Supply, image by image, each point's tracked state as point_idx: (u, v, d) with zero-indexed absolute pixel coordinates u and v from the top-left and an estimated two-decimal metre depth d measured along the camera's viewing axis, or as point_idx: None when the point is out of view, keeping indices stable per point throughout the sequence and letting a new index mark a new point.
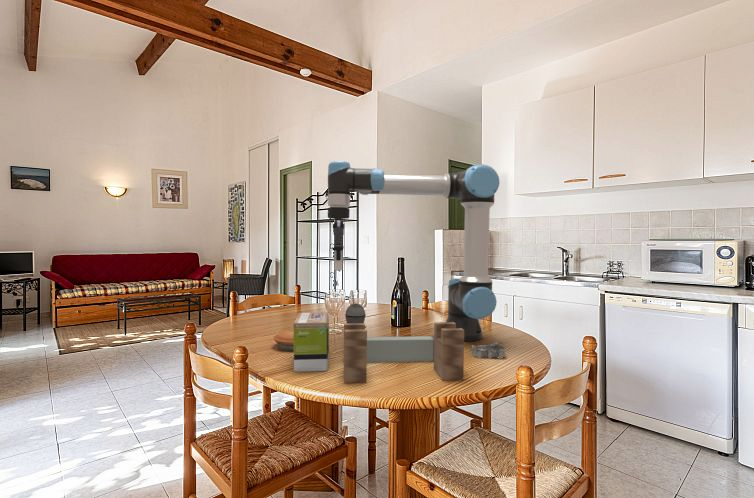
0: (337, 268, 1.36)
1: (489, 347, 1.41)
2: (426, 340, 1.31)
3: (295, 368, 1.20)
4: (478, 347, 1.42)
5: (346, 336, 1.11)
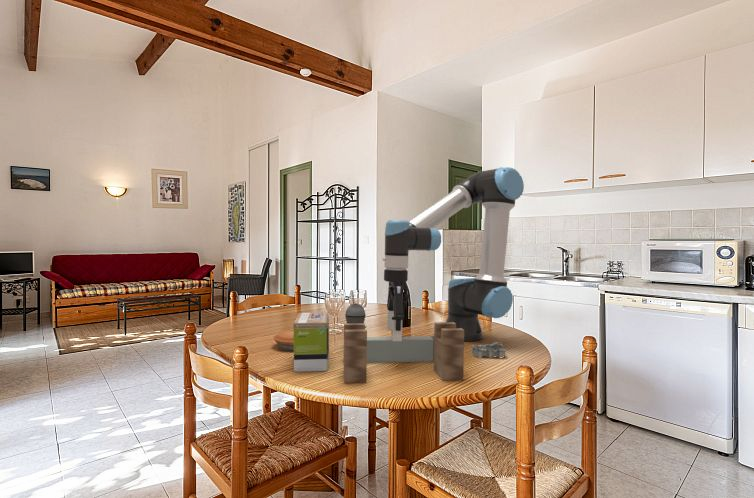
0: (396, 339, 1.24)
1: (489, 347, 1.41)
2: (426, 340, 1.31)
3: (295, 368, 1.20)
4: (478, 347, 1.42)
5: (346, 336, 1.11)
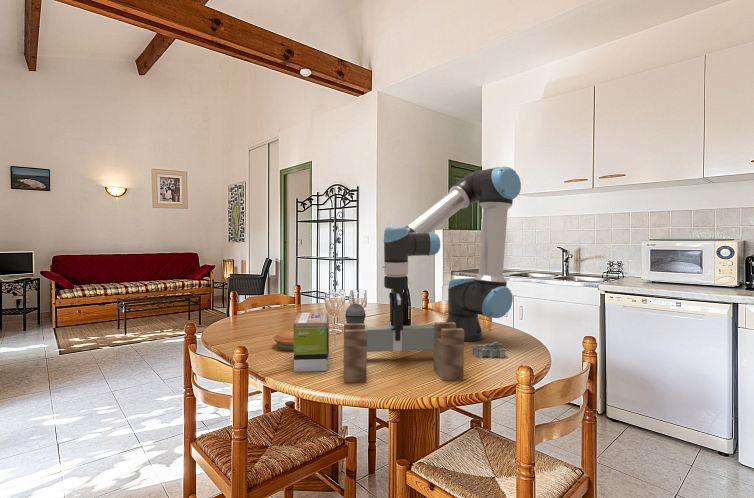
0: (396, 348, 1.29)
1: (488, 346, 1.42)
2: (427, 329, 1.31)
3: (295, 368, 1.20)
4: (478, 347, 1.42)
5: (346, 336, 1.11)
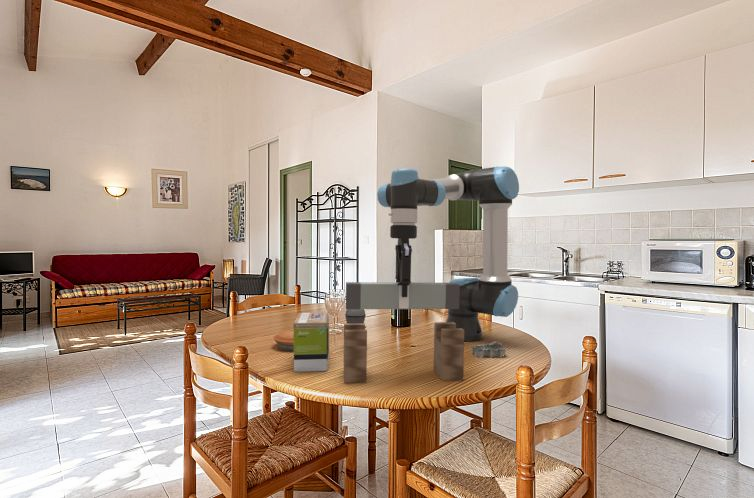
0: (402, 306, 1.15)
1: (488, 346, 1.42)
2: (438, 285, 1.16)
3: (295, 368, 1.20)
4: (477, 346, 1.42)
5: (346, 336, 1.11)
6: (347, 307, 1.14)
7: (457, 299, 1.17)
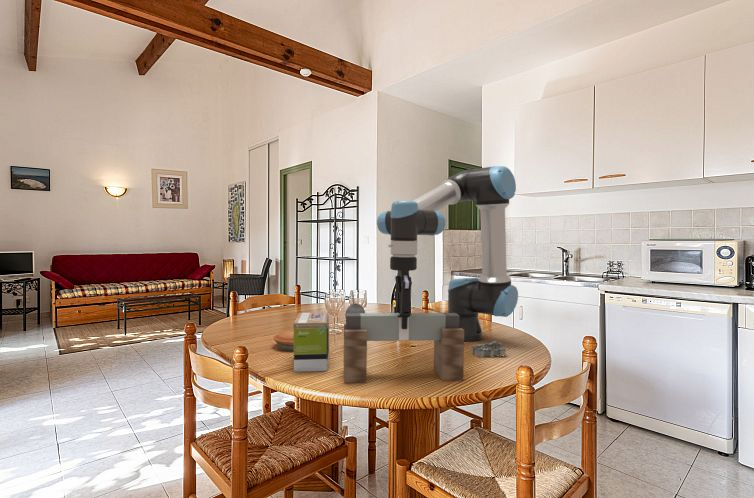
0: (402, 338, 1.15)
1: (488, 346, 1.42)
2: (437, 316, 1.16)
3: (295, 368, 1.20)
4: (477, 346, 1.42)
5: (346, 336, 1.11)
6: None
7: None
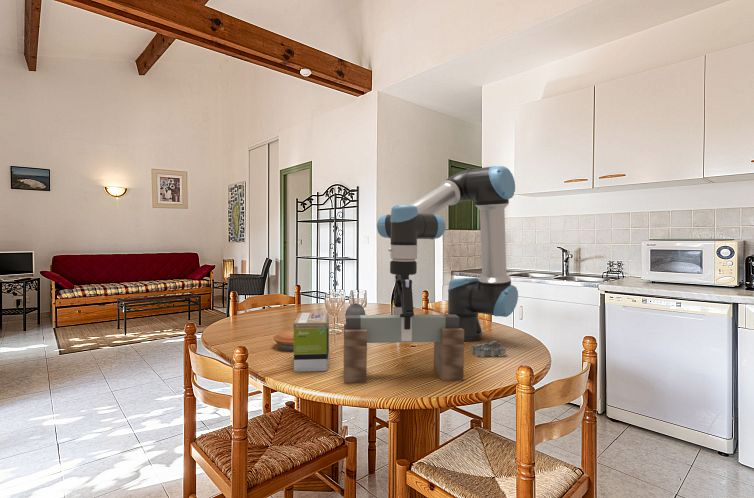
0: (405, 338, 1.10)
1: (487, 346, 1.43)
2: (437, 318, 1.16)
3: (295, 368, 1.20)
4: (477, 346, 1.42)
5: (346, 336, 1.11)
6: None
7: None
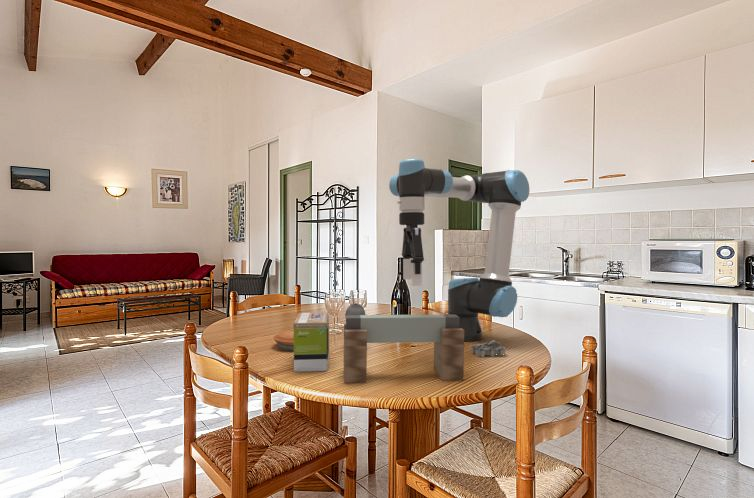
0: (416, 283, 1.18)
1: (487, 345, 1.43)
2: (437, 318, 1.16)
3: (295, 368, 1.20)
4: (476, 346, 1.43)
5: (346, 336, 1.11)
6: None
7: None
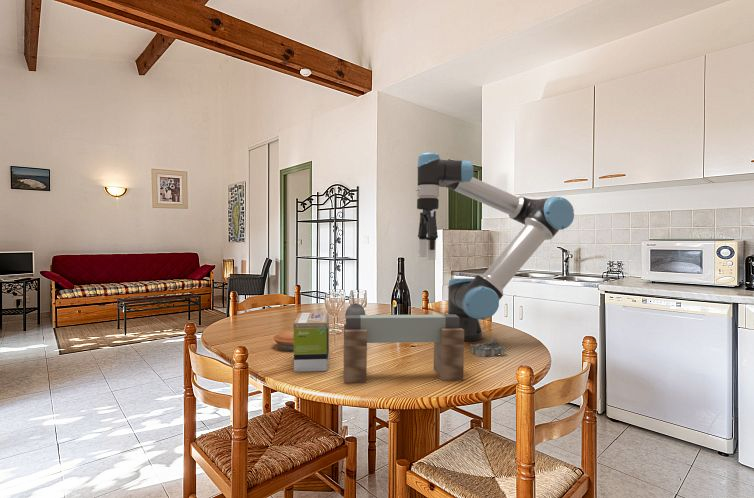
0: (430, 257, 1.39)
1: (486, 345, 1.43)
2: (437, 318, 1.16)
3: (295, 368, 1.20)
4: (476, 346, 1.43)
5: (346, 336, 1.11)
6: None
7: None
